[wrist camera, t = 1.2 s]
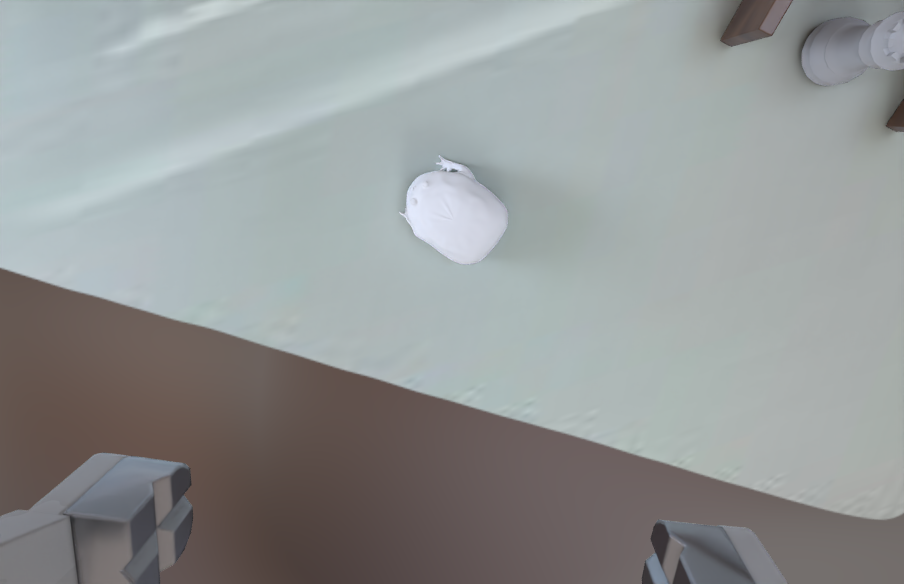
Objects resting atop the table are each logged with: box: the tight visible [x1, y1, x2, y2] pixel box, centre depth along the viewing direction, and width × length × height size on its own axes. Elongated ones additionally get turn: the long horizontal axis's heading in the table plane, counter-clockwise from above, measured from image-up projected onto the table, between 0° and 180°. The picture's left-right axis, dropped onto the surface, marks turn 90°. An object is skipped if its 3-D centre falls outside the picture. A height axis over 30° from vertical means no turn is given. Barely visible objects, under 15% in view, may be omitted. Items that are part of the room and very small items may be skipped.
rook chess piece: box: [802, 11, 904, 86], centre depth 36 cm, size 4×4×8 cm
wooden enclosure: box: [720, 0, 904, 132], centre depth 37 cm, size 11×15×6 cm
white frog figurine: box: [399, 155, 508, 265], centre depth 43 cm, size 8×7×4 cm
